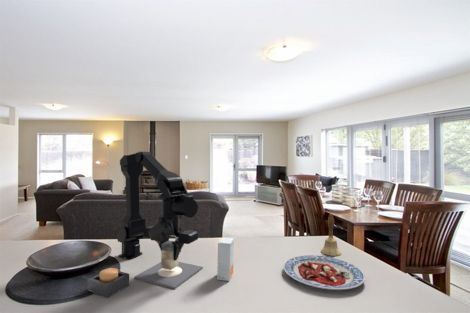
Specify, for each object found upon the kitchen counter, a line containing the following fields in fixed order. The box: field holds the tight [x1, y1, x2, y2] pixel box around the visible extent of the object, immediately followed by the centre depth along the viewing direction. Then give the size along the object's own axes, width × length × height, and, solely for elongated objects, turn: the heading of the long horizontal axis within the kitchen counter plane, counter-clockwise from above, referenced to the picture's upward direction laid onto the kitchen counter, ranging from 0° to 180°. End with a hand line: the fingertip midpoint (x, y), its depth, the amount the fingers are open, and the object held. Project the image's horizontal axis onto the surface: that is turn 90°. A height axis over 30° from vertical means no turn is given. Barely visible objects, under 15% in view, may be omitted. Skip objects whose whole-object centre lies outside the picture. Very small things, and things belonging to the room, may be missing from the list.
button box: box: [86, 270, 130, 299], centre depth 79 cm, size 8×8×4 cm
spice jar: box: [160, 240, 179, 270], centre depth 89 cm, size 4×4×8 cm
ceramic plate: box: [283, 254, 366, 291], centre depth 89 cm, size 26×26×3 cm
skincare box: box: [216, 237, 235, 282], centre depth 87 cm, size 6×4×12 cm
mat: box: [133, 261, 204, 290], centre depth 89 cm, size 16×16×1 cm
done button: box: [99, 267, 119, 283], centre depth 79 cm, size 5×5×2 cm
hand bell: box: [320, 213, 342, 257], centre depth 111 cm, size 8×8×16 cm
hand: (170, 259), depth 89 cm, fingers closed on spice jar, 4 cm apart
